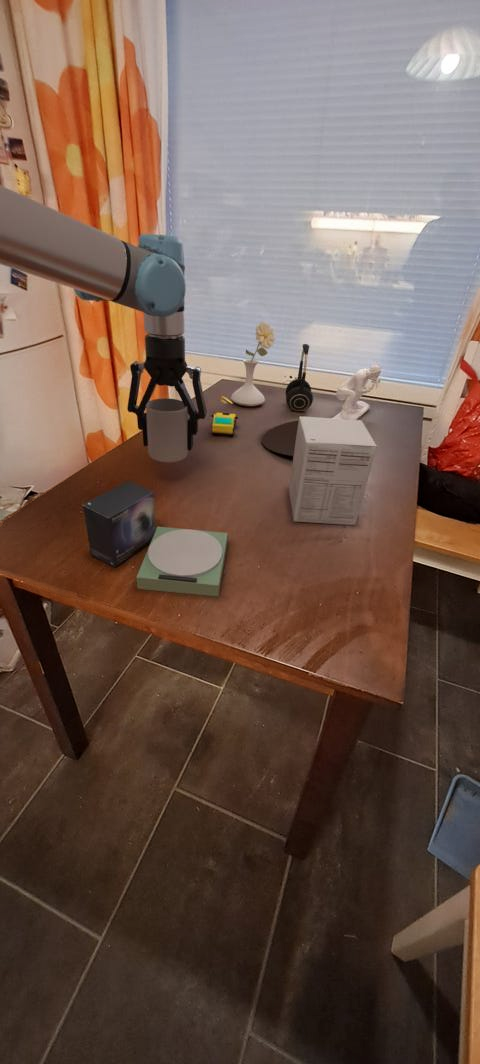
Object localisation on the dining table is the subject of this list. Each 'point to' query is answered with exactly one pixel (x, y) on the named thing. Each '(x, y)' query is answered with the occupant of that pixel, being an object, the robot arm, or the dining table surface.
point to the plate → (281, 438)
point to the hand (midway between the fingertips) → (168, 445)
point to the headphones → (300, 388)
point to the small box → (120, 522)
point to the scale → (184, 562)
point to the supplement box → (330, 470)
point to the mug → (167, 430)
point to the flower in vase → (248, 391)
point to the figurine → (356, 393)
